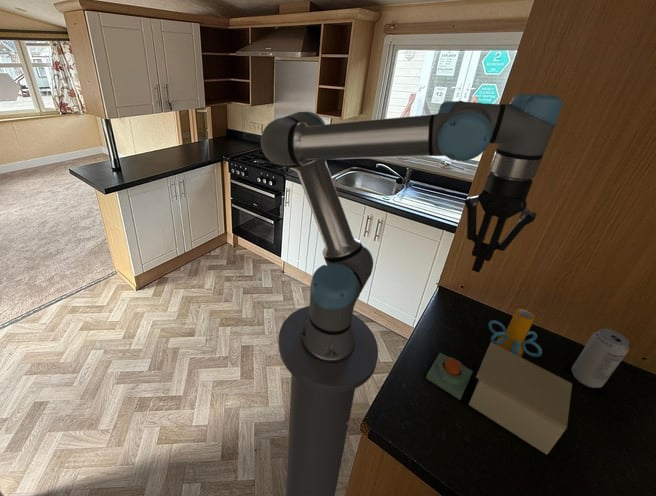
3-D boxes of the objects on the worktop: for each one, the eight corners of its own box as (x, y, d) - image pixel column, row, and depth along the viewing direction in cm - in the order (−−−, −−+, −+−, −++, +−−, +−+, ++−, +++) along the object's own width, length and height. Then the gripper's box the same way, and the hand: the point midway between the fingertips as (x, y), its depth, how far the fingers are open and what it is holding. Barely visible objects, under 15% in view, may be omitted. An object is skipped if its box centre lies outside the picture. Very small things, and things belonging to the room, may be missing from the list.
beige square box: (468, 404, 73) (479, 380, 69) (482, 370, 81) (493, 346, 77) (547, 455, 64) (565, 430, 60) (554, 410, 72) (570, 386, 68)
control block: (425, 378, 79) (428, 369, 77) (438, 356, 85) (441, 347, 83) (460, 400, 74) (464, 391, 72) (471, 375, 80) (475, 366, 78)
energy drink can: (586, 368, 82) (614, 326, 75) (608, 390, 76) (640, 347, 70) (563, 367, 82) (589, 326, 75) (584, 390, 76) (613, 347, 70)
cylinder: (496, 373, 80) (517, 331, 74) (472, 339, 90) (488, 300, 83) (542, 371, 81) (567, 329, 74) (513, 338, 90) (532, 299, 83)
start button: (441, 368, 78) (443, 364, 77) (446, 359, 80) (448, 355, 80) (457, 378, 76) (459, 373, 75) (461, 368, 78) (463, 364, 77)
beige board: (475, 377, 70) (476, 375, 69) (489, 344, 78) (490, 341, 77) (565, 430, 60) (566, 427, 60) (570, 385, 68) (572, 383, 68)
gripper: (554, 178, 61) (513, 274, 72) (479, 163, 70) (452, 251, 80) (548, 188, 57) (505, 289, 67) (469, 171, 65) (442, 263, 75)
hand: (476, 268), depth 74 cm, fingers closed
